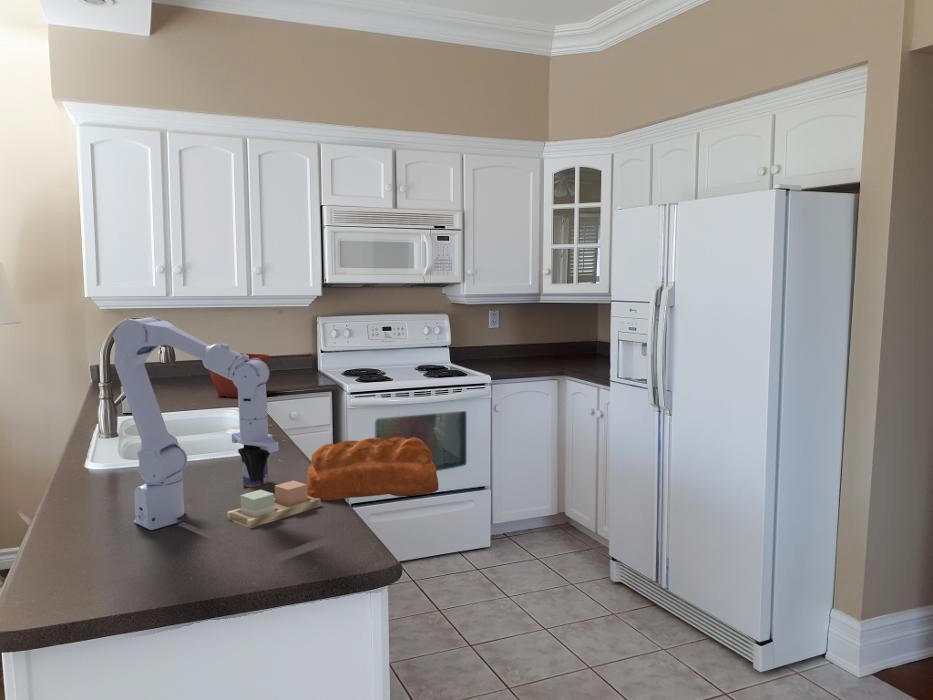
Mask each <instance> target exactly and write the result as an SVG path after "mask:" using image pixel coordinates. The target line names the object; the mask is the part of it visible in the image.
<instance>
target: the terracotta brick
mask: <svg viewBox="0 0 933 700" xmlns="http://www.w3.org/2000/svg"><path fill="white" fill-rule="evenodd" d="M307 496H308V495H307V484H305V483H303V482H300V481H296V480H293V479H292V480H291V481H286V482H282V483H280V484H276V485H274V498H275V503H277V504H280V505H283V506H286V507H290V506H293V505H297V504H300V503H303V502H307V501H308V500H307Z"/></svg>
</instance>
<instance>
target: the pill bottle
mask: <svg viewBox="0 0 933 700" xmlns="http://www.w3.org/2000/svg"><path fill="white" fill-rule="evenodd" d="M240 457H241V456H240ZM268 468H269V467H268V460H267V461H266V464H265V468H264V473H263V478H262V480H259V481H255V482H253V481H251V480H250V478H249V474H248V471H247V468H246V465H245V463H244V461H243V459H242V457H241V470H242V471H241V472H242V486H243V487H242V488H244V489H246V490H248V489H251V488H254V487H258V486H262V485H267V484H268V483H269V470H268Z"/></svg>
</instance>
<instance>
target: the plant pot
mask: <svg viewBox="0 0 933 700" xmlns="http://www.w3.org/2000/svg"><path fill="white" fill-rule="evenodd" d="M238 353H239V354H241V355H244V354H246V355H248V356H249V360H251V359H255V358H258V359H261V360H262V361H263V362H264V363H266V365H267V366H268V363H269V358H270V357H269V354H263V353H262V354H261V353H244V352H243V353H240V352H238ZM207 370H208V373H209V376H210V378H211V379H210V380H211V382H212V384H213V386H214V388H215V391H216V393H217V395H218V396H219V397H223V396H226V397H225V398H238V389H237V387H236V386H235V385H234V383H233V381H232V380H230V379H228V378H226V377H224V376H221V375H219V374H217V373H215V372H213V371H211V370H209V369H207Z"/></svg>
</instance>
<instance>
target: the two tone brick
mask: <svg viewBox="0 0 933 700" xmlns="http://www.w3.org/2000/svg"><path fill="white" fill-rule="evenodd" d="M239 498H240V508H241V514H244V515H247V516H249V517H252V518H254V517H258V516H261V515H264V514H267V513H271V512H274V511H275V502H274V498H275V493H273V492H269V491H266V490H264V489H257V490H254V491H251V492H247V493H244V494H240V497H239Z"/></svg>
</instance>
